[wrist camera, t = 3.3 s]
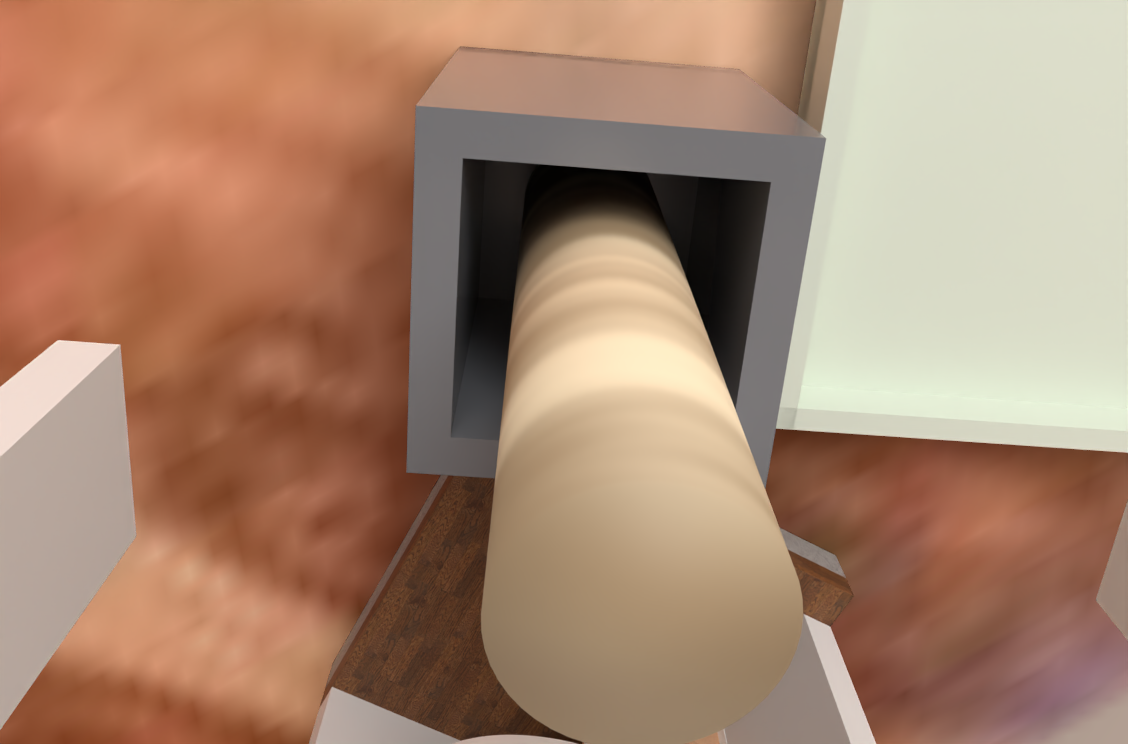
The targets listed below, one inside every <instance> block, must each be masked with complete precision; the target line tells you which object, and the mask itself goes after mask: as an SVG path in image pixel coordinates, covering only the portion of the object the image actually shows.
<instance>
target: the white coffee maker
mask: <svg viewBox="0 0 1128 744" xmlns="http://www.w3.org/2000/svg"><path fill="white" fill-rule="evenodd" d="M494 486H495V478H482V477H467V476H452V475H441V476H440V477H439V479H438V481H437V483H436V484H435V486H434V488H433V490H432V491H431V493H430V495H429V497H428V498H427V500H426V502H425V504H424V505H423V507H422V509H421V510H420V512H419V514H418V516H417V517H416V519H415V521H414V523H413V524H412V526H411V528H410V530H409V531H408V533H407V535H406V537H405V538H404V540H403V542H402V544H401V545H400V547H399V549H398V551H397V552H396V554H395V556H394V558H393V559H392V561H391V563H390V564H389V566H388V568H387V570H386V571H385V573H384V575H383V577H382V578H381V580H380V582H379V584H378V585H377V587H376V589H375V591H374V592H373V594H372V596H371V598H370V599H369V601H368V603H367V605H366V606H365V608H364V610H363V612H362V613H361V615H360V617H359V618H358V620H357V622H356V624H355V625H354V627H353V629H352V631H351V632H350V634H349V636H348V638H347V639H346V641H345V643H344V645H343V646H342V648H341V650H340V652H339V653H338V655H337V657H336V659H335V660H334V662H333V664H332V668H331V671H330V674H329V678H328V681H327V684H326V688H325V691H324V695H323V698H322V701H321V705H320V708H319V711H318V715H317V718H316V721H315V725H314V728H313V732H312V735H311V738H310V742H309V744H588V743H585V742H582V741H579V740H576V739H573V738H570V737H567V736H565V735H563V734H561V733H559V732H556V731H554V730H552V729H550V728H549V727H547V726H545V725H544V724H542V723H541V722H539V721H537V720H536V719H534V718H533V717H532V716H531V715H529V714H528V713H527V712H526V711H524V710H523V709H522V708H521V707H520V706H519V705H518V704H517V703H516V702H515V701H514V700H513V699H512V698H511V697H510V696H509V695H508V693H507V692H506V691H505V689H504V688H503V686H502V685H501V684H500V682H499V681H498V679H497V677H496V675H495V673H494V671H493V670H492V668H491V666H490V663H489V660H488V657H487V654H486V652H485V649H484V643H483V638H482V632H481V610H482V600H483V590H484V581H485V571H486V562H487V552H488V543H489V533H490V524H491V514H492V505H493V495H494ZM780 531H781V533H782V536H783V539H784V541H785V544H786V547H787V549H788V552H789V555H790V557H791V560H792V563H793V566H794V568H795V571H796V574H797V576H798V579H799V583H800V588H801V593H802V598H803V622H802V630H801V636H800V639H799V643H798V646H797V650H796V652H795V655H794V657H793V659H792V661H791V663H790V666H789V668H788V669H787V671H786V672H785V674H784V676H783V677H782V679H781V680H780V682H779V683H778V684H777V686H776V687H775V688H774V689H773V690H772V692H771V693H770V694H769V695H768V696H767V697H766V698H765V699H764V700H763V701H762V702H761V703H760V704H759V705H758V706H757V707H756V708H755V709H753V710H752V711H751V712H749V713H748V714H747V715H745V716H744V717H742V718H741V719H740V720H738V721H737V722H735V723H733V724H731V725H730V726H728V727H726V728H724V729H723V730H721V731H718V732H716V733H714V734H711V735H709V736H707V737H704V738H702V739H698V740H695V741H692V742H689V743H686V744H876V742H875V740H874V737H873V735H872V732H871V730H870V727H869V724H868V722H867V719H866V717H865V714H864V712H863V709H862V707H861V704H860V702H859V699H858V696H857V694H856V691H855V689H854V686H853V684H852V681H851V679H850V676H849V674H848V671H847V668H846V666H845V663H844V661H843V658H842V656H841V653H840V651H839V648H838V645H837V643H836V640H835V638H834V635H833V633H832V630H831V628H830V626H831V625H832V624H833V622H834V621H835V620H836V618H837V617H838V616H839V615H840V613H841V612H842V611H843V609H844V608H845V607H846V606H847V604H848V603H849V602H850V600H851V599H852V598H853V597H854V595H853V593H852V591H851V588H850V586H849V584H848V582H847V579H846V577H845V575H844V573H843V571H842V568H841V566H840V564H839V562H838V559H837V557H836V555H834V554H832V553H830V552H827V551H825V550H823V549H821V548H819V547H817V546H815V545H813V544H811V543H809V542H807V541H805V540H803V539H801V538H799V537H797V536H795V535H793V534H791V533H789V532H787V531H785V530H783V529H781V528H780Z"/></svg>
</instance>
